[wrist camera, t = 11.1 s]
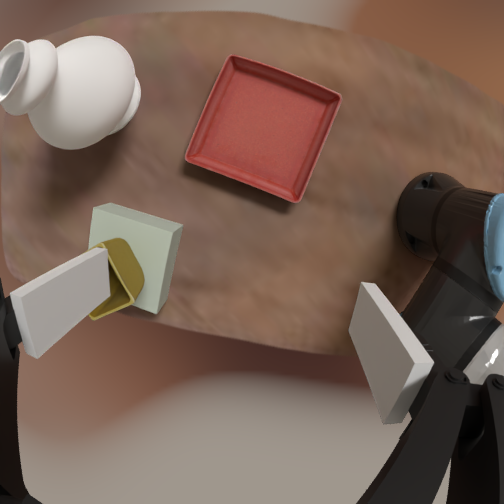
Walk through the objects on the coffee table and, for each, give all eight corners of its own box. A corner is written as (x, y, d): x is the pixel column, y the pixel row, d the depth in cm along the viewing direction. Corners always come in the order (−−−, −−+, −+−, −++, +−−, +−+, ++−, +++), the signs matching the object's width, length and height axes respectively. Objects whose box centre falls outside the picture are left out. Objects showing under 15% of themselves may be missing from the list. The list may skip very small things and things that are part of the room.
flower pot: (159, 277, 42) (135, 303, 33) (118, 296, 43) (91, 322, 35) (132, 226, 40) (101, 241, 31) (93, 249, 41) (60, 267, 33)
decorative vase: (163, 131, 41) (63, 106, 17) (77, 163, 43) (-32, 175, 19) (149, 41, 36) (69, -28, 12) (68, 79, 38) (-28, 53, 14)
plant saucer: (231, 59, 38) (228, 51, 34) (339, 99, 39) (344, 95, 35) (188, 161, 43) (182, 160, 39) (296, 202, 44) (299, 205, 41)
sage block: (184, 224, 46) (172, 232, 40) (167, 298, 50) (156, 314, 44) (111, 202, 45) (93, 207, 39) (102, 274, 49) (85, 286, 43)
